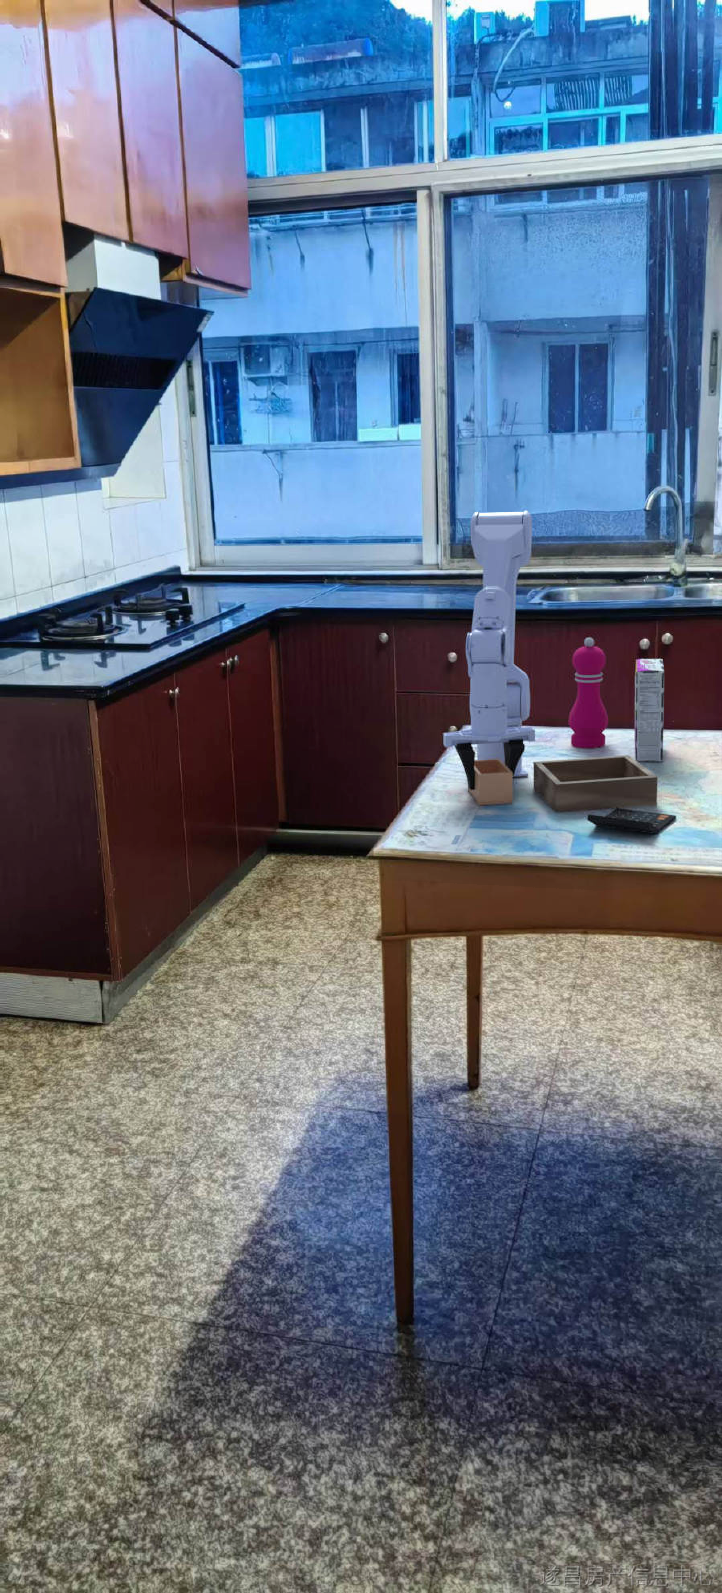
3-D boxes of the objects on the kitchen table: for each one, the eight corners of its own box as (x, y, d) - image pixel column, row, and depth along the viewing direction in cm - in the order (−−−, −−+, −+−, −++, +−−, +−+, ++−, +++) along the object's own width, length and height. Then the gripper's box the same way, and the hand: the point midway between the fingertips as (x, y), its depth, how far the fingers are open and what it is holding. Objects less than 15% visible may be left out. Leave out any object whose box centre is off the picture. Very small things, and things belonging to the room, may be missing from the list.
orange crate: (468, 790, 208) (467, 760, 206) (500, 787, 208) (499, 758, 207) (479, 805, 199) (478, 775, 198) (512, 802, 200) (512, 772, 198)
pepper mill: (568, 749, 231) (568, 641, 226) (568, 739, 238) (569, 634, 232) (608, 749, 230) (609, 640, 224) (607, 739, 237) (609, 634, 231)
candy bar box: (633, 746, 231) (635, 658, 226) (661, 747, 230) (663, 658, 225) (633, 762, 220) (635, 670, 216) (663, 762, 219) (665, 670, 215)
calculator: (675, 820, 189) (676, 801, 188) (648, 843, 179) (648, 823, 178) (616, 813, 194) (616, 794, 193) (586, 834, 184) (586, 814, 183)
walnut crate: (533, 788, 207) (533, 761, 206) (627, 781, 209) (628, 755, 208) (556, 812, 194) (556, 784, 193) (656, 804, 196) (657, 777, 194)
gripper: (448, 712, 195) (450, 796, 199) (539, 706, 196) (540, 790, 200) (440, 703, 202) (442, 785, 205) (528, 697, 203) (529, 778, 207)
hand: (489, 786), depth 203 cm, fingers closed on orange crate, 5 cm apart
